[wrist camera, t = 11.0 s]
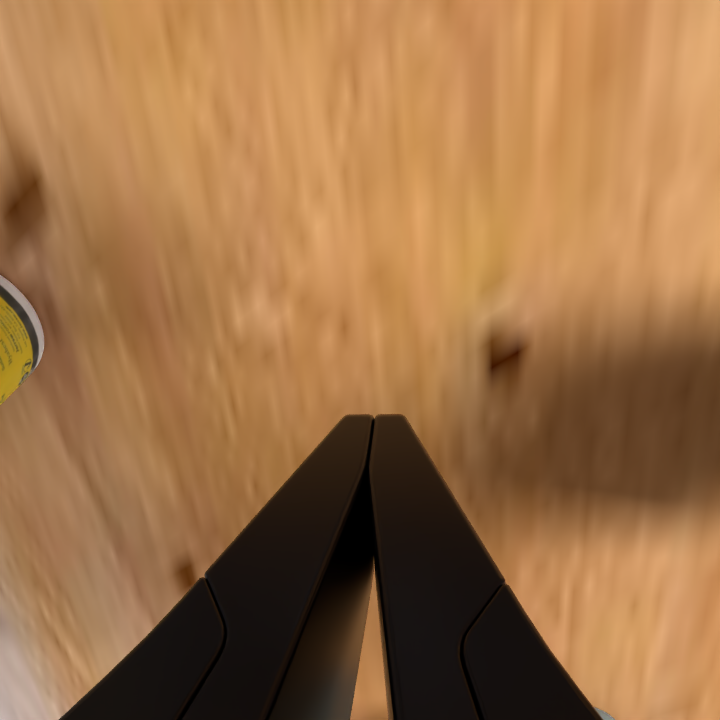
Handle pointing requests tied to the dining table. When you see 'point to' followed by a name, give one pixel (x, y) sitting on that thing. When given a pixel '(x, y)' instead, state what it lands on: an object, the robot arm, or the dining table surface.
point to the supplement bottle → (17, 339)
